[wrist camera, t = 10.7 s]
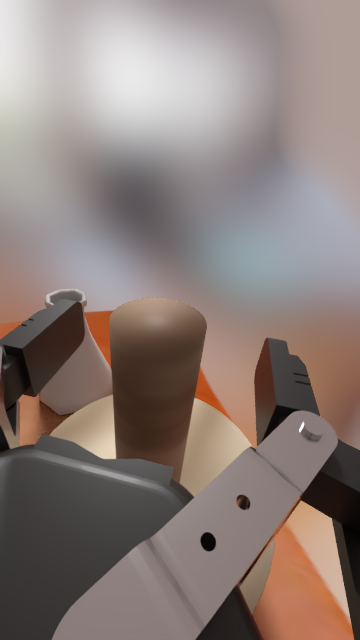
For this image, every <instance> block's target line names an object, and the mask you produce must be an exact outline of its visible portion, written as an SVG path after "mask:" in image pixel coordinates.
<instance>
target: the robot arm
mask: <svg viewBox="0 0 360 640" xmlns="http://www.w3.org/2000/svg"><path fill="white" fill-rule="evenodd" d="M84 336H85V326H84V317H83V308H82V304H81V303H80V302H79V301H73V300H68V299H61V300H59V301H58V302H57V303H55V304H54V305H53V306H52V307H48V308H46V309H44V310H41V311H39V312H37V313H35V314H34V315H33V316H31V317H30V318H29V319H28V320H26V321H25V322H23V323H22V324H21V325H19V326H18V327H17V328H15V329H14V330H13V331H11V332H10V333H9V334H7V335H6V336H5V337H3V338H2V339H1V340H0V640H263V638H262V635H261V633H260V631H259V629H258V627H257V625H256V622H255V620H254V618H253V616H252V614H251V611H250V609H249V607H248V605H247V603H246V601H245V598H244V596H243V594H242V592H241V590H240V586H241V585H242V584H243V582H244V581H245V579H246V578H247V577H248V575H249V574H250V572H251V571H252V569H253V568H254V567H255V565H256V564H257V562H258V561H259V559H260V558H261V557H262V555H263V554H264V552H265V551H266V549H267V548H268V546H269V545H270V543H271V542H272V541H273V539H274V538H275V536H276V535H277V534H278V532H279V531H280V529H281V528H282V526H283V525H284V524H285V522H286V521H287V519H288V518H289V517H290V515H291V514H292V512H293V511H294V510H295V508H296V507H297V505H298V504H299V503H300V501H301V500H302V501H303V502H305V503H307V504H309V505H310V506H312V507H314V508H315V509H317V510H319V511H320V512H322V513H324V514H325V515H327V516H329V517H331V518H332V521H333V527H334V532H335V537H336V543H337V548H338V554H339V559H340V565H341V570H342V575H343V581H344V586H345V591H346V597H347V602H348V607H349V612H350V618H351V624H352V629H353V634H354V640H360V450H358V449H356V448H354V447H352V446H349V445H347V444H346V443H344V442H342V441H340V440H339V439H338V438H337V434H336V432H335V431H334V429H333V428H332V427H331V425H330V424H329V423H328V422H326V421H325V420H324V419H323V418H322V417H320V414H319V411H318V407H317V404H316V400H315V397H314V393H313V390H312V387H311V386H310V385H311V383H310V379H309V377H308V373H307V369H306V366H305V364H304V363H303V362H302V361H301V360H300V358H299V357H298V356H295V355H290V354H289V351H288V347H287V343H286V341H283V340H278V339H272V338H266V339H265V342H264V345H263V348H262V351H261V354H260V357H259V360H258V364H257V367H256V371H255V379H254V384H255V407H256V431H257V447H256V448H255V449H254V448H253V447H248V448H247V449H246V450H244V451H243V452H242V453H241V454H240V455H239V456H238V457H237V458H236V459H235V460H234V461H233V462H232V463H231V464H229V465H228V466H227V467H226V468H225V469H224V470H223V471H222V472H221V473H220V474H219V475H218V476H217V477H216V478H215V479H214V480H212V481H211V482H210V483H209V484H208V485H207V486H206V487H205V488H204V489H203V490H202V491H201V492H200V493H199V494H198V495H197V496H196V497H194V496H193V495H192V494H191V493H190V492H189V491H188V490H187V489H186V488H185V487H184V486H183V485H181V484H180V483H179V482H177V481H175V480H174V479H172V475H173V468H174V467H170V466H166V465H162V464H158V463H154V462H150V461H146V460H143V459H103V458H100V457H98V456H96V455H95V454H93V453H91V452H90V451H88V450H86V449H85V448H83V447H81V446H80V445H78V444H76V443H75V442H72V441H68V440H64V439H61V438H57V437H53V436H49V435H45V434H43V435H42V436H41V438H40V439H39V440H38V442H37V443H36V444H33V445H24V446H20V443H19V429H20V404H19V400H18V399H19V398H20V397H21V396H22V394H24V395H28V396H32V397H36V396H37V395H38V393H39V392H40V391H41V390H42V389H43V388H44V387H45V385H46V384H47V383H48V382H49V381H50V380H51V379H52V377H53V376H54V375H55V374H56V373H57V372H58V370H59V369H60V368H61V367H62V366H63V365H64V364H65V362H66V361H67V360H68V359H69V358H70V357H71V356H72V354H73V353H74V352H75V351H76V350H77V349H78V348H79V346H80V345H81V344H82V342H83V340H84Z"/></svg>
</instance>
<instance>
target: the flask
mask: <svg viewBox="0 0 360 640" xmlns="http://www.w3.org/2000/svg"><path fill="white" fill-rule="evenodd" d="M61 299H68V300H73V301H79V302H80V303H81V304H82V308H83V317H84V326H85V336H84V340H83V342H82V344H81V345H80V346H79V348H78V349H77V350H76V351H75V352H74V353H73V354H72V356H71V357H70V358H69V359H68V360H67V361H66V362H65V364H64V365H63V366H62V367H61V368H60V369H59V370H58V372H57V373H56V374H55V375H54V376H53V377H52V379H51V380H50V381H49V382H48V383H47V384H46V385H45V387H44V388H43V389H42V390H41V391H40V401H42V402H43V403H44V404H45V405H47V406H48V407H49V408H51V409H52V410H53V411H55V412H56V413H57V414H59V415H65V414H69V413H74V412H77V411H78V410H80V409H82V408H83V407H85V406H87V405H88V404H90V403H93V402H95V401H97V400H99V399H101V398H104V397H107V396H109V395H111V394H112V393H113V390H112V371H111V368H110V366H109V364H108V363H107V361H106V359H105V358H104V356H103V354H102V353H101V351H100V349H99V347H98V346H97V344H96V342H95V340H94V338H93V336H92V335H91V333H90V331H89V328H88V325H87V322H86V318H85V315H84V307H85V306H86V304H87V301H86V295H85V293H83V292H81V291H79V290H77V289H64V290H57V291H55V292H52V293H49V294H47V295H46V298H45V305H46V307H47V308H48V307H52V306H53V305H54V304H55V303H57V302H58V301H59V300H61Z"/></svg>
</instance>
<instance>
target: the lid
mask: <svg viewBox="0 0 360 640" xmlns="http://www.w3.org/2000/svg"><path fill="white" fill-rule="evenodd" d="M206 328H207V325H206V321H205V318H204V317H203V315H202V314H201V313H200V312H199V311H197V310H196V309H195V308H193V307H191V306H190V305H187V304H185V303H183V302H180V301H176V300H172V299H165V298H143V299H137V300H133V301H130V302H127V303H125V304H122V305H121V306H119V307H118V308H117V309H115V310H114V311H113V312H112V314H111V316H110V318H109V333H110V352H111V371H112V390H113V394H112V395H109V396H107V397H104V398H101V399H99V400H97V401H95V402H93V403H90V404H88V405H87V406H85V407H83V408H82V409H80V410H78V411H77V412H75V413H74V414H73V415H71V416H70V417H68V418H67V419H66V420H64V421H63V422H62V423H61V424H60V425H59V426H58V427H57V428H56V429H54V430H53V431H52V433H51V434H50V435H49V436H53V437H57V438H61V439H64V440H68V441H72V442H75V443H76V444H78V445H80V446H81V447H83V448H85V449H86V450H88V451H90V452H91V453H93V454H95V455H96V456H98V457H100V458H103V459H143V460H146V461H150V462H154V463H158V464H162V465H166V466H170V467H174V468H173V475H172V479H174V480H175V481H177V482H179V483H180V484H181V485H183V486H184V487H185V488H186V489H187V490H188V491H189V492H190V493H191V494H192V495H193V496H194V497H196V496H197V495H198V494H199V493H200V492H201V491H202V490H203V489H204V488H205V487H206V486H207V485H208V484H209V483H210V482H211V481H212V480H214V479H215V478H216V477H217V476H218V475H219V474H220V473H221V472H222V471H223V470H224V469H225V468H226V467H227V466H228V465H229V464H231V463H232V462H233V461H234V460H235V459H236V458H237V457H238V456H239V455H240V454H241V453H242V452H243V451H244V450H246V449H247V448H248V447H252V445H251V444H250V443H249V441H248V440H247V438H246V437H245V436H244V434H243V433H242V432H241V431H240V430H239V429H238V428H237V426H236V425H235V424H234V423H232V422H231V421H230V420H229V419H228V418H227V417H226V416H225V415H223V414H222V413H221V412H219V411H218V410H217V409H215V408H213V407H212V406H210V405H208V404H207V403H205V402H203V401H201V400H199V399H196V398H195V392H196V386H197V380H198V375H199V369H200V362H201V357H202V352H203V346H204V339H205V334H206ZM274 545H275V538H274V539H273V541H272V542H271V543H270V545H269V546H268V548H267V549H266V551H265V552H264V554H263V555H262V557H261V558H260V559H259V561H258V562H257V564H256V565H255V567H254V568H253V569H252V571H251V572H250V574H249V575H248V577H247V578H246V579H245V581H244V582H243V584H242V585H241V586H240V590H241V592H242V594H243V596H244V598H245V601H246V603H247V605H248V607H249V609H250V611H251V614H253V612H254V610H255V607H256V605H257V603H258V601H259V599H260V597H261V595H262V593H263V591H264V588H265V585H266V582H267V579H268V575H269V572H270V569H271V564H272V558H273V553H274Z"/></svg>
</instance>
